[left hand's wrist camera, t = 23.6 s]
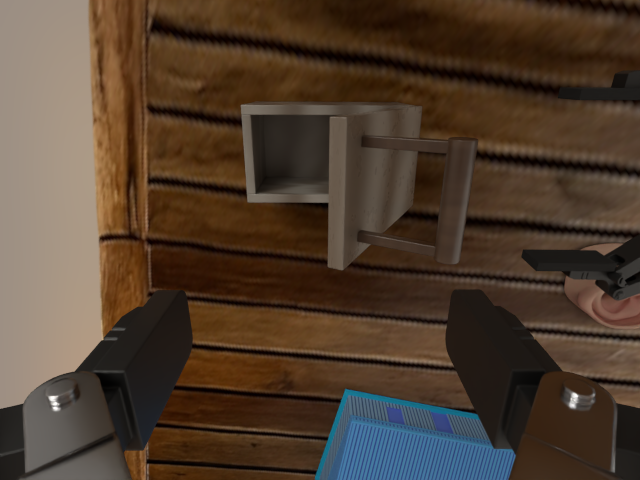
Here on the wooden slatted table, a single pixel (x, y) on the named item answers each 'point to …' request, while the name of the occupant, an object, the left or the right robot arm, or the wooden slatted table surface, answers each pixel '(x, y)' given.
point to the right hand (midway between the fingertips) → (546, 183)
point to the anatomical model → (603, 299)
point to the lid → (391, 184)
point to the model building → (408, 443)
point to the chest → (292, 148)
